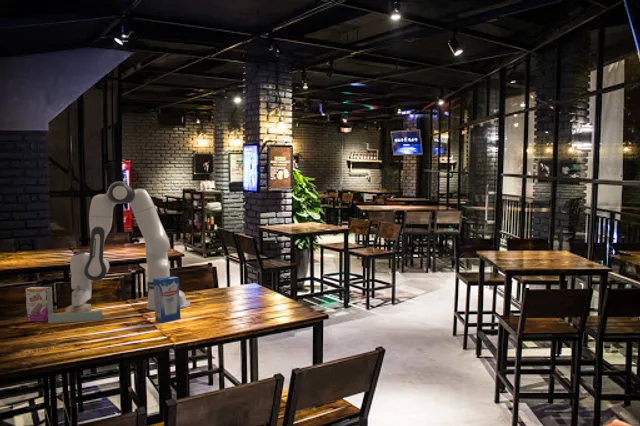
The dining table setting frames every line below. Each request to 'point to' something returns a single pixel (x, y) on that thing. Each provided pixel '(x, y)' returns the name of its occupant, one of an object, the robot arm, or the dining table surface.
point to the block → (78, 308)
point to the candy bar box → (39, 303)
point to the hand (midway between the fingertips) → (82, 311)
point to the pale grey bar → (75, 316)
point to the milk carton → (166, 299)
